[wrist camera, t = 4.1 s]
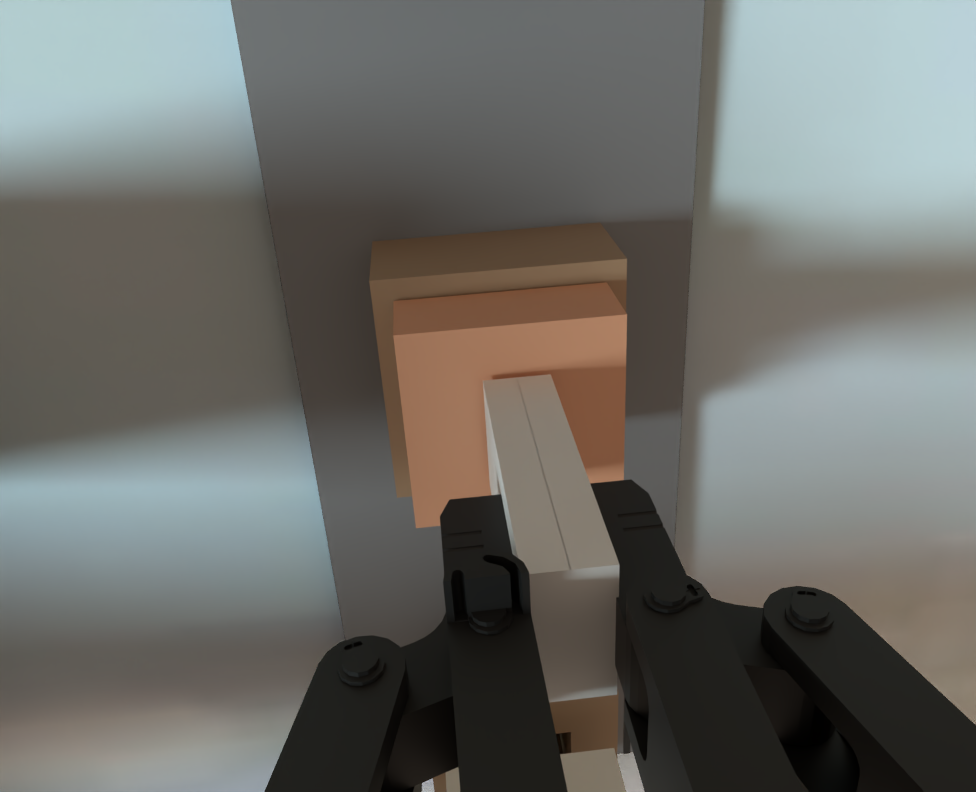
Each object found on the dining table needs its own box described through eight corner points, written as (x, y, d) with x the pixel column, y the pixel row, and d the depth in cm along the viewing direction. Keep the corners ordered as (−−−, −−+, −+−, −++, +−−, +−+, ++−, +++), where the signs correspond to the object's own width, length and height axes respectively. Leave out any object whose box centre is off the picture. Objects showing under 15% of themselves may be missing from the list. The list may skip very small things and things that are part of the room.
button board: (371, 765, 32) (368, 859, 29) (147, -508, 16) (82, -628, 13) (657, 731, 33) (686, 819, 30) (721, -527, 17) (802, -645, 13)
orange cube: (412, 423, 25) (416, 528, 20) (393, 258, 23) (392, 335, 18) (582, 406, 25) (623, 506, 21) (581, 242, 23) (626, 314, 18)
